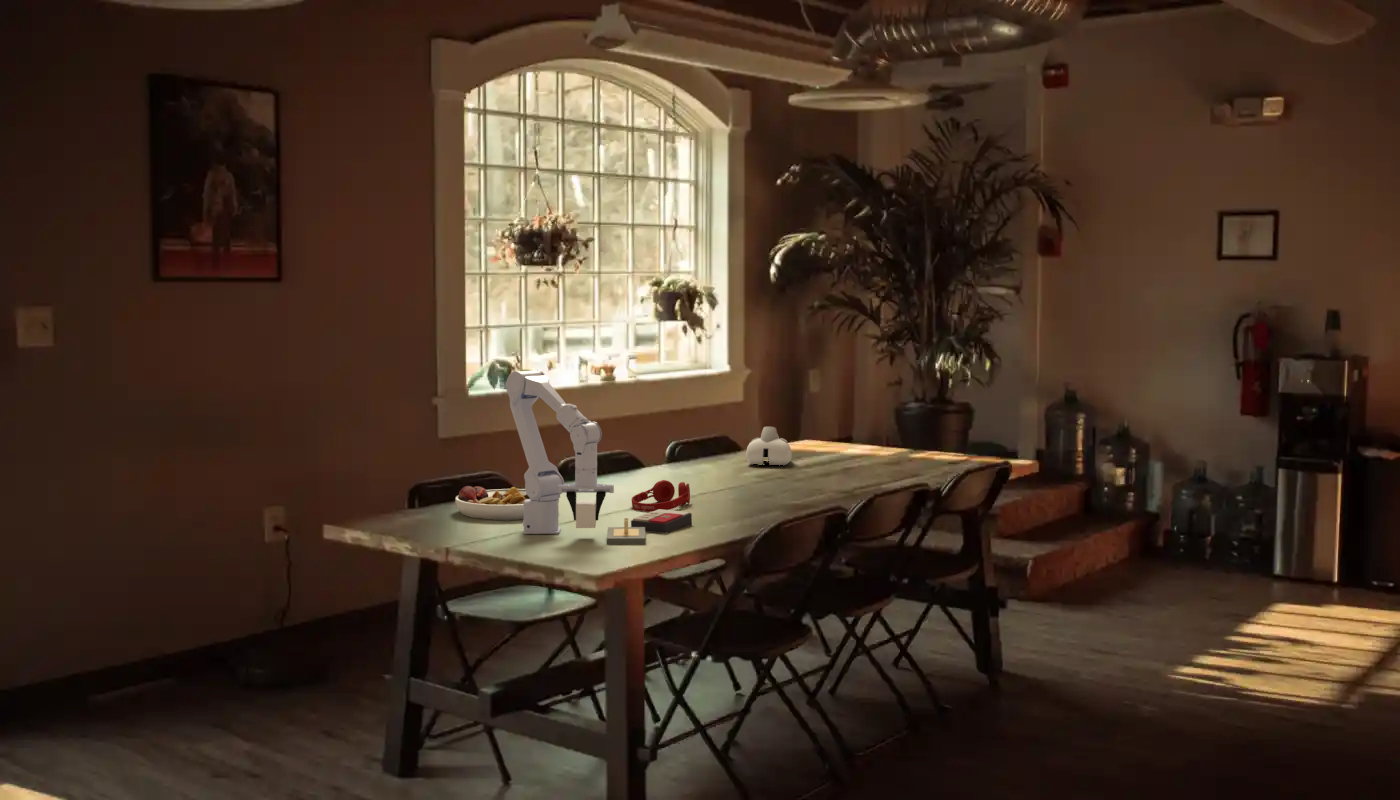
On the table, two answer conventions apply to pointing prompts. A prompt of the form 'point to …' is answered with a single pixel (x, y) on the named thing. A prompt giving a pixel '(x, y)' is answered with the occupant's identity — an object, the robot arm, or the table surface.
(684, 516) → the calculator
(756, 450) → the off-white rounded lobed piece
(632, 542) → the board
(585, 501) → the block
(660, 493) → the headphones
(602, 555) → the table surface
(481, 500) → the bowl
